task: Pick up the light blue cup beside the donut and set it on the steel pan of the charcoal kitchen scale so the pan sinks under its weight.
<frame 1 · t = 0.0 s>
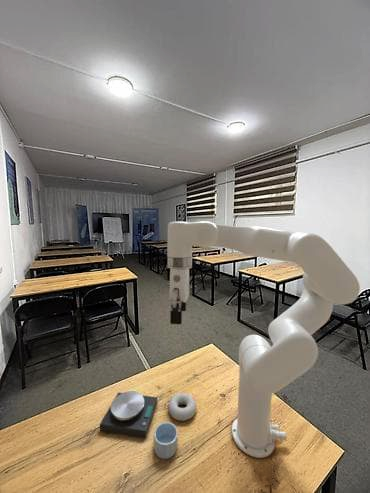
hand: (178, 316, 65), 37 cm above the table, tool pointing down, fingers open, 9 cm apart
scale pan: (127, 404, 71), point 4 cm above the table, slide at 0.0 cm
light blue cup: (165, 446, 62), on the table
scale: (130, 416, 71), on the table
donut: (182, 410, 74), on the table
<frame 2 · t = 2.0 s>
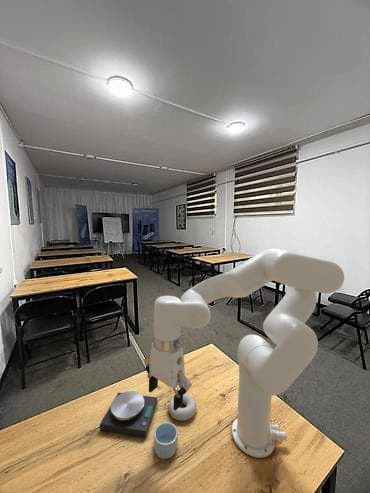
hand: (165, 397, 60), 15 cm above the table, tool pointing down, fingers open, 9 cm apart
nothing on the table moved.
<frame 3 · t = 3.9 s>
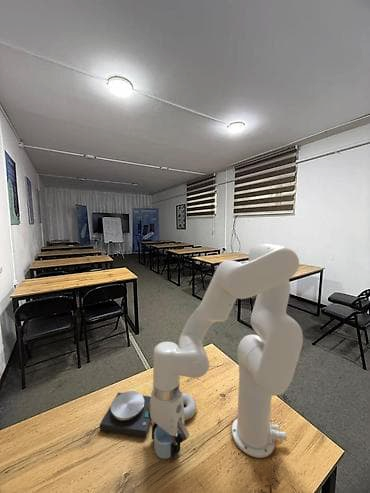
hand: (165, 443, 61), 1 cm above the table, tool pointing down, fingers closed on light blue cup, 7 cm apart
light blue cup: (165, 446, 62), on the table, touching gripper
everything else where it was.
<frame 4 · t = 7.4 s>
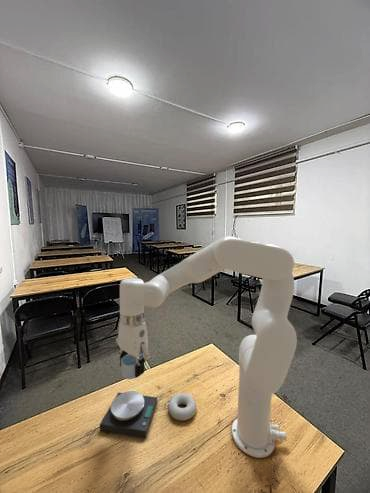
hand: (131, 369, 69), 18 cm above the table, tool pointing down, fingers closed on light blue cup, 7 cm apart
light blue cup: (131, 372, 69), point 17 cm above the table, touching gripper
everything else where it was.
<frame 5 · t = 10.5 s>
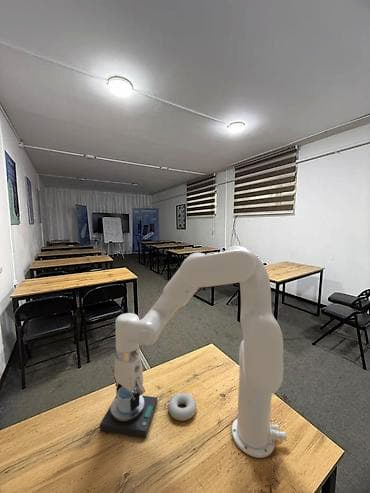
hand: (127, 401, 71), 5 cm above the table, tool pointing down, fingers closed on light blue cup, 7 cm apart
scale pan: (127, 405, 71), point 4 cm above the table, slide at -0.2 cm, touching light blue cup
light blue cup: (127, 404, 71), point 4 cm above the table, touching gripper, scale pan
everything else where it was.
when the fingers open (5 cm above the table, at t = 10.8 s): light blue cup stays where it is, resting on scale pan.
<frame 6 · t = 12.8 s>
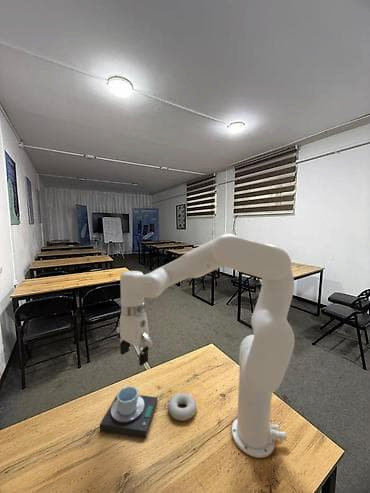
hand: (133, 357, 71), 20 cm above the table, tool pointing down, fingers open, 9 cm apart
scale pan: (127, 407, 71), point 3 cm above the table, slide at -1.0 cm, touching light blue cup
light blue cup: (127, 406, 71), point 4 cm above the table, touching scale pan
everything else where it was.
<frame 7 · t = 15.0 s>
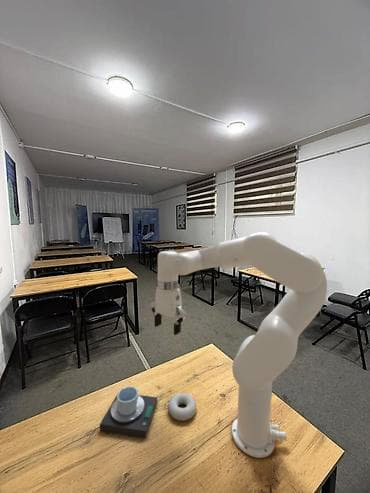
hand: (167, 329, 79), 26 cm above the table, tool pointing down, fingers open, 9 cm apart
nothing on the table moved.
at the end: light blue cup 0.0 cm from the target spot on the scale, point 3.6 cm above the scale's base; light blue cup tilted 0°; scale pan slide at -1.0 cm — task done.
